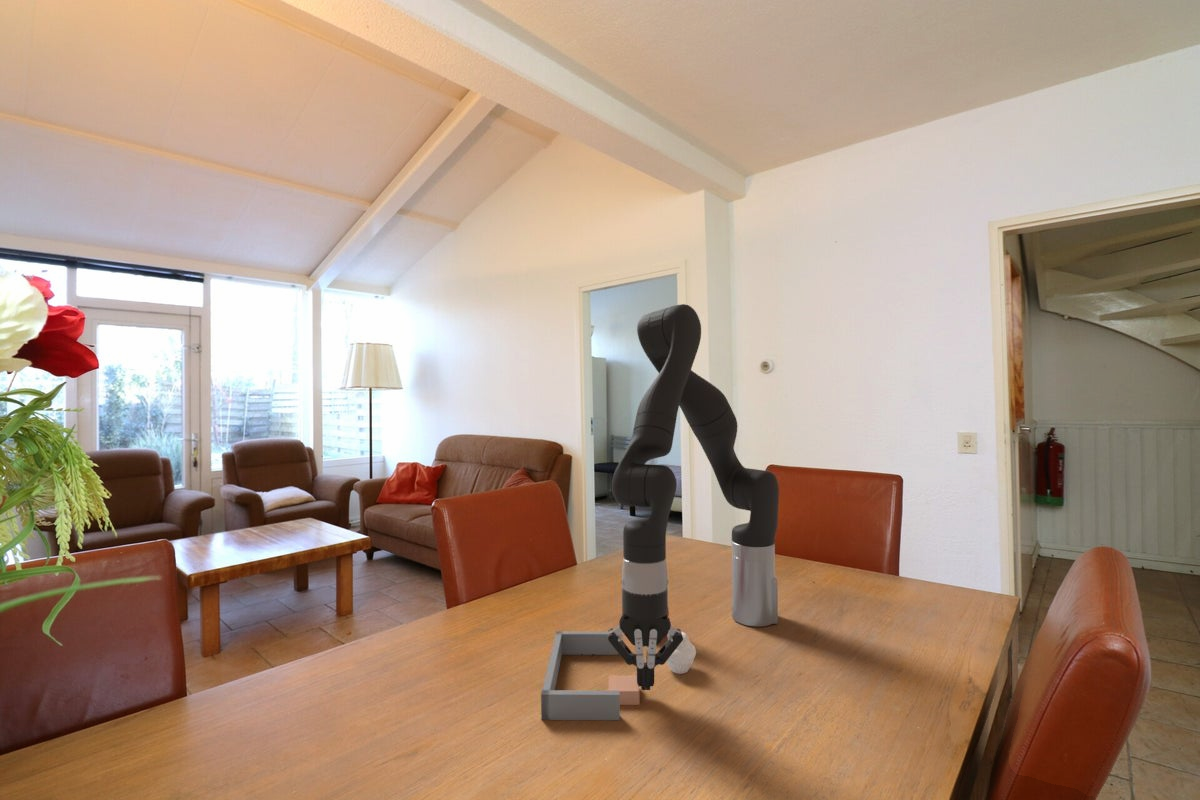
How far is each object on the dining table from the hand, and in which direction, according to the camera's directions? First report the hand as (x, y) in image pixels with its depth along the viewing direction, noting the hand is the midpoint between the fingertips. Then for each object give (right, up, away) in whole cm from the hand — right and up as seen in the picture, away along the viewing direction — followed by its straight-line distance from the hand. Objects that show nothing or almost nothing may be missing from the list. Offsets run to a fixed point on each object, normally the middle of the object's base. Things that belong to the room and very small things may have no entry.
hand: (645, 687), depth 93 cm
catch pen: (-10, -2, +5) cm, 12 cm away
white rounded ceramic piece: (+7, -2, +9) cm, 12 cm away
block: (-4, -2, +1) cm, 4 cm away
